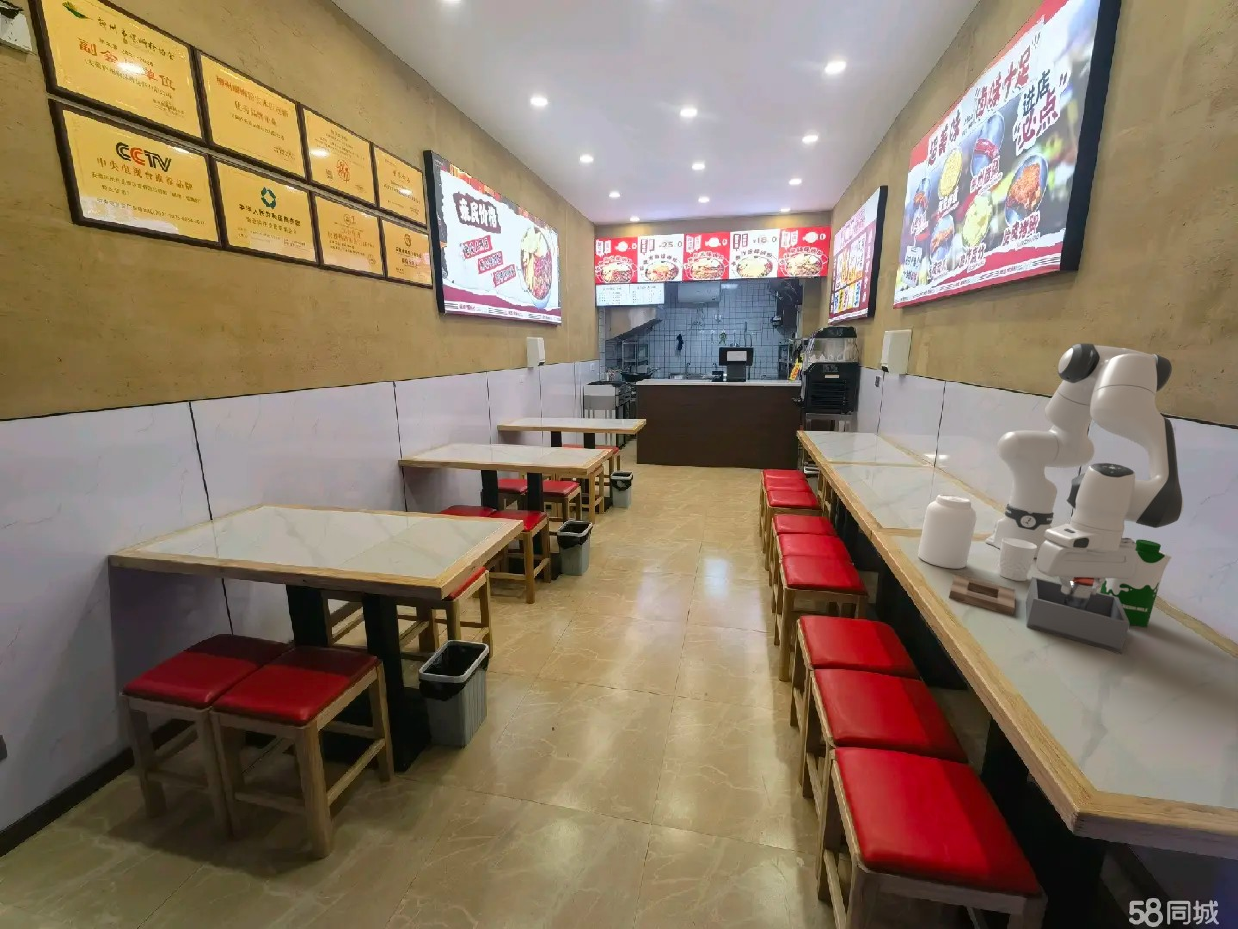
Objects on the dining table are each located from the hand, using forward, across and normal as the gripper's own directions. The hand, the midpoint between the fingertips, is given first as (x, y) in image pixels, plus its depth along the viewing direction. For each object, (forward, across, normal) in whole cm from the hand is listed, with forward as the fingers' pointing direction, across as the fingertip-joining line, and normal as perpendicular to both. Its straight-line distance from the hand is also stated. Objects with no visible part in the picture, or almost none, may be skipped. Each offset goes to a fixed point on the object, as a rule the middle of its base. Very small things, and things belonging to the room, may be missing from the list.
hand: (1077, 593), depth 117 cm
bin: (+8, 0, 0) cm, 8 cm away
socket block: (+8, +11, -13) cm, 19 cm away
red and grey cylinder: (+4, 0, 0) cm, 4 cm away
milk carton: (+8, -18, -5) cm, 20 cm away
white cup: (+8, -8, -27) cm, 29 cm away
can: (+8, +6, -36) cm, 38 cm away
